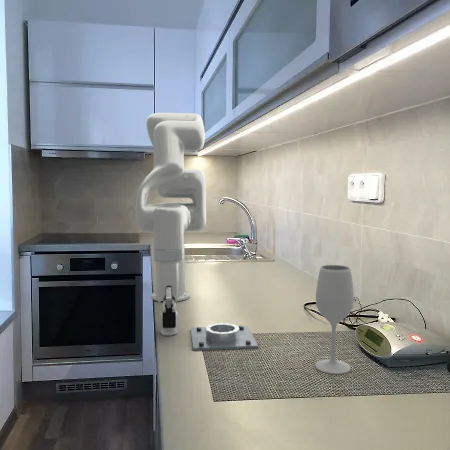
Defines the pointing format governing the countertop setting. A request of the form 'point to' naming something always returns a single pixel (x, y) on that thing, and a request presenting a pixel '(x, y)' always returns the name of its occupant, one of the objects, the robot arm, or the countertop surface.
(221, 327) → the duct collar
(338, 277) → the wineglass
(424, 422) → the countertop surface
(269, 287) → the countertop surface
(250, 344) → the flange plate
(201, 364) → the countertop surface
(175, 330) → the pill bottle
